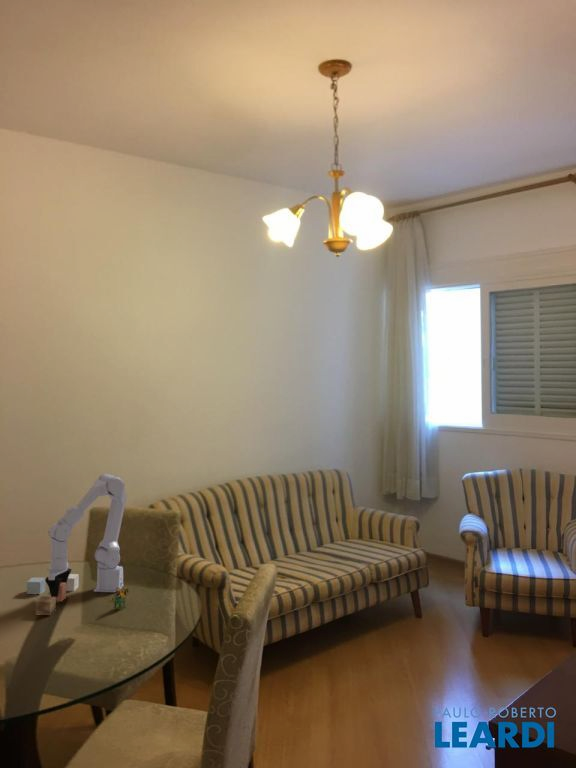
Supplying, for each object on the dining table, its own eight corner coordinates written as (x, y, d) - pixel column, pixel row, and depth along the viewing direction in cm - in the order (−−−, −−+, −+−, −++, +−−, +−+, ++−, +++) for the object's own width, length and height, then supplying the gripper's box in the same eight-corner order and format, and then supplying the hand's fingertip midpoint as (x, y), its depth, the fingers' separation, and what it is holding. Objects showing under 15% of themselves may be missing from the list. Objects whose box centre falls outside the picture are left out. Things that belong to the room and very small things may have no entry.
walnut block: (55, 610, 225) (55, 596, 225) (50, 616, 220) (50, 602, 220) (41, 610, 226) (41, 596, 225) (35, 616, 221) (35, 601, 220)
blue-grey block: (45, 590, 245) (45, 577, 244) (40, 595, 240) (40, 582, 239) (32, 590, 245) (32, 577, 244) (26, 595, 240) (26, 581, 239)
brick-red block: (65, 598, 237) (65, 582, 237) (61, 602, 233) (62, 586, 233) (54, 598, 237) (55, 582, 237) (50, 602, 233) (51, 586, 233)
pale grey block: (78, 586, 249) (78, 574, 249) (74, 591, 244) (74, 578, 244) (65, 586, 250) (65, 573, 249) (61, 591, 245) (61, 578, 244)
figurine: (132, 604, 233) (132, 582, 232) (111, 616, 222) (111, 593, 221) (124, 603, 234) (125, 581, 234) (104, 614, 223) (104, 591, 222)
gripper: (55, 550, 242) (54, 585, 242) (40, 562, 227) (39, 600, 228) (74, 550, 242) (73, 586, 242) (60, 562, 227) (59, 600, 228)
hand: (58, 593), depth 235 cm, fingers open, 7 cm apart
